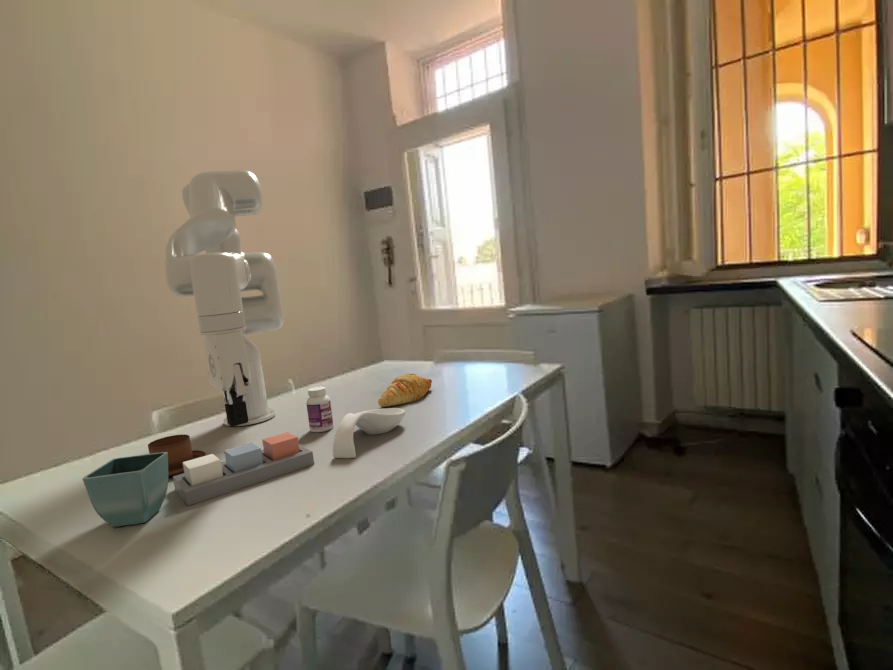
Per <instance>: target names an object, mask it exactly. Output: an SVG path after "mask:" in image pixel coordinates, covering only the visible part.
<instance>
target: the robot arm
mask: <svg viewBox="0 0 893 670" xmlns="http://www.w3.org/2000/svg"><path fill="white" fill-rule="evenodd" d="M263 195H264V194H263V190H262V185H261V183H260V181H259V179H258V177H257V176H256V175H255V174H254V173H253V172H252V171H250V170H245V169H244V170H243V169H240V170H237V169H235V170H209V171H203V172H199V173H197V174H196V175H194V176H193V177H192V178H191V180H190V181H189V183H187V184H186V185H184V186H183V188H182V190H181V198H182V200H183V201H182V202H183V204H184V207H185V208H186V211H187V214H188V215H189V219H187V220H186V221H184V222H183V223H182V224H181V225H180V226H179V227H178V228H177V229H176V230H175V231H173V233H172V234H171V235H170V236H169V238H168V240H167V242H166V244H165V253H164V255H165V257H164V258H165V259H164V266H165V267H164V270H165V271H164V274H165V280H166V283H167V286H168V288H169V290H170V291H171V293H173V295H176V296H178V297H182V298H188V297H190V298H192V297H193V299H194V305H195V310H196V317H197V324H198V327H199V334H200V336H203V337H204V351H205V360H206V368H207V377H208V383H209V384H210V385H211V386H212V387H214V388H216V389H218V390H220V391H221V393H222V397H223V401H224V408H225V415H226V417H225V418H224V419H223V424H224V426H227V427H245V426H249V425H255V424H259V423H262V422H263V423H264V422H266V421H268V420H270V419H272V418H274V417H275V416H276V410H275V409H274V408H269V404H268V399H267V398H268V397H267V391H266V383H265V377H264V372H263V371H264V370H263V364H262V358H261V352H260V350H259V349H260V348H259V347H258V346H257V345H256V344H255V343H254V342H253V341H252V340H250V338H248V337H247V336H248V335H252V334H259V333H266V332H267V333H268V332H273V331H277V330H280V329H282V327H283V325H284V320H285V316H284V309H283V302H282V294H281V289H280V282H279V277H278V271H277V266H276V263H275V260H274V258H273V257H272V255H271V254H269V253H267V252H264V251H255V252H244V251H243V247H242V240H241V235H240V232H239V231H238V229H237V225H236V224H237V223H236V217H249V216H257V215H259V214H260V213H261V212H262V209H263V198H264V197H263ZM203 251H204V253H201V252H203ZM250 291H251V292H252V291H259V292H260V293H261V294H260V295H259V294H258V295H252V296H250V295H249V296H242V294H241V292H250Z"/></svg>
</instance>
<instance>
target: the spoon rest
mask: <svg viewBox="0 0 893 670" xmlns="http://www.w3.org/2000/svg"><path fill="white" fill-rule="evenodd" d="M405 414H406V411H405V410H404V409H403V408H399V407H392V408H390V407H388V408H377V409H368V410H363V411H359V412H357V413H356V412H355V413H352V412H349V413H347V414H345V415H344V416H343V417H342V419H341V420H340V423H339V425H338V427H337V430H336V433H335V437H334V440H333V445H332V457H333V458H334V459H354V458H356V457H357V454H356V447H355V441H354V430H355V426H356V427H357V429H358V428H359V430H361V431H363V432H365V434H367V435H379V434H385V433H388V432H390V431H392V430H394V429H395V428H396V427H397V426H399V425H400V423H401V422H402V421H403V419H404V417H405Z"/></svg>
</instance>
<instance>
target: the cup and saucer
mask: <svg viewBox="0 0 893 670" xmlns="http://www.w3.org/2000/svg"><path fill="white" fill-rule="evenodd" d="M147 448H148V454H153V453H161V452H168V477H171V476H172V477H173V476H176V475H179V474H183V473H184V468H183V462H185V461H189V460H192V459H196V458H199V457H203V456H206V455H207V453H206V452H205V451H203V450H196V449H195V450H193V448H192V444H191V436H190V435H188V434H175V435H169V436H164V437H160V438H158V439H155V440H153V441H150V442H149V443H148V444H147Z"/></svg>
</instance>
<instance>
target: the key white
mask: <svg viewBox="0 0 893 670" xmlns="http://www.w3.org/2000/svg"><path fill="white" fill-rule="evenodd" d="M221 462H222V461H221V458H218V456H216V455H215V454H213V453H211V454H206V456H203V457H199V458H196V459H192V460H189V461H185V462H183V468H184V472H183V473H184V474H185V479H186V480H187V481H188V482H189V483H190V484H191V485H192V486H193V485H196V484H199V483H203V482H206V481H209V480H212V479H215V478H219V477H222V476H223V472H222V466H221Z"/></svg>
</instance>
